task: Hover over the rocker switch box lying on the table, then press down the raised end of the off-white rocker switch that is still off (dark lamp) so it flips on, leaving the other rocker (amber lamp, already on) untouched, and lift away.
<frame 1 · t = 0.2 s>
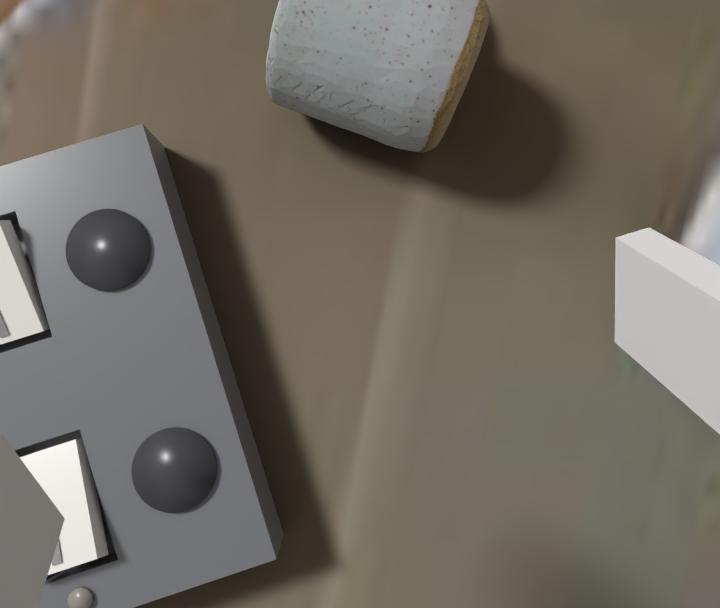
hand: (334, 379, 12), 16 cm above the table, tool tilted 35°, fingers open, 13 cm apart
rocker a: (55, 508, 24), point 3 cm above the table, hinge at 12.0°
rocker switch box: (114, 372, 28), on the table
ceramic mug: (377, 62, 29), on the table
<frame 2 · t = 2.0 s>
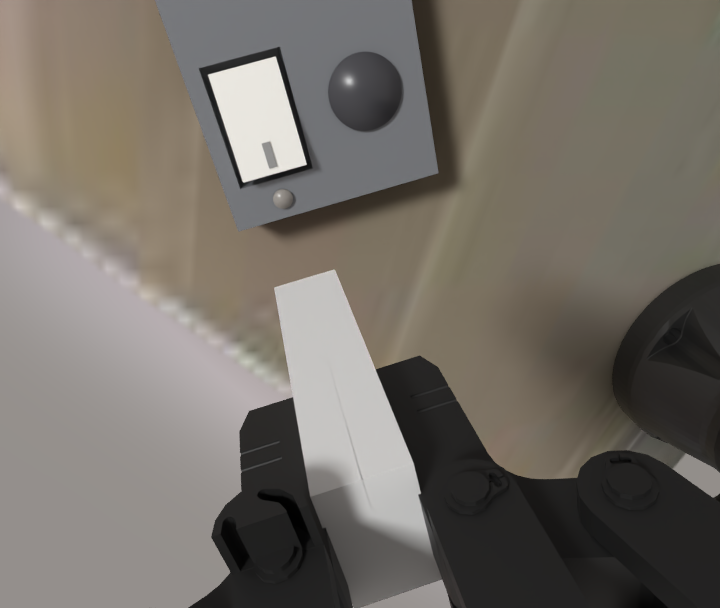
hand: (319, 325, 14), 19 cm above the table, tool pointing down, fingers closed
rocker a: (259, 121, 27), point 3 cm above the table, hinge at 12.0°
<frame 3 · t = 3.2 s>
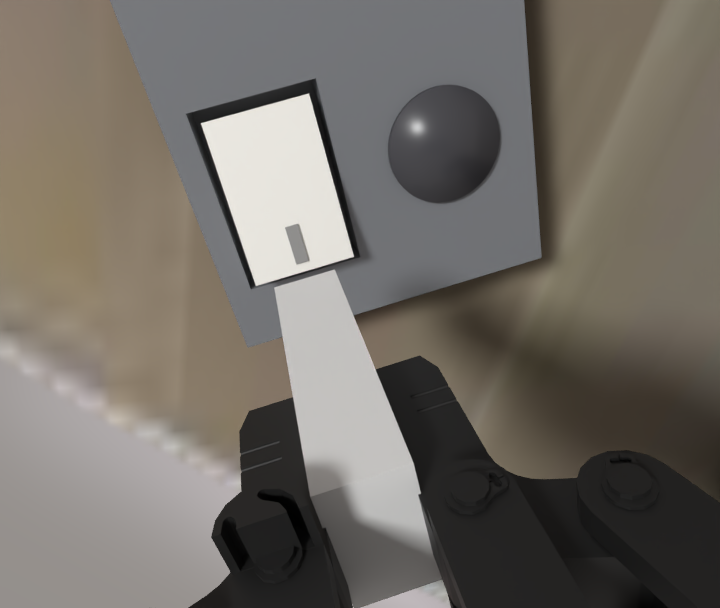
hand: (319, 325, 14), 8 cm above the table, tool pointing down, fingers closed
rocker a: (281, 192, 17), point 3 cm above the table, hinge at 12.0°
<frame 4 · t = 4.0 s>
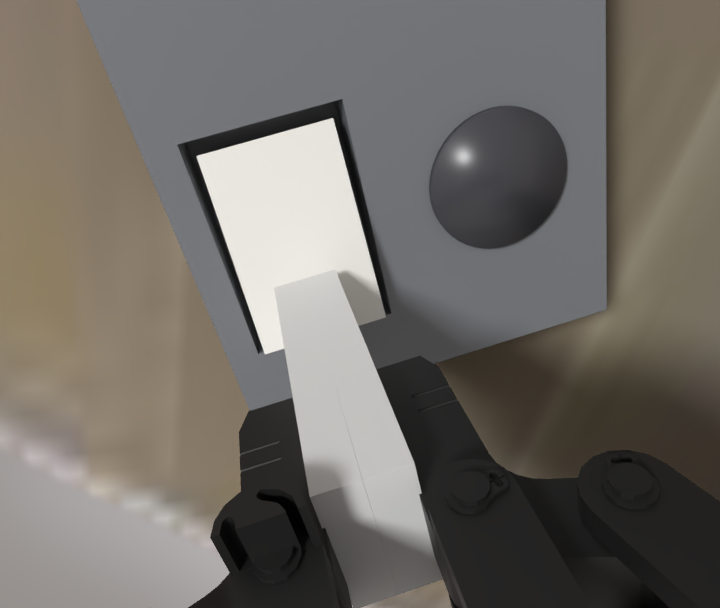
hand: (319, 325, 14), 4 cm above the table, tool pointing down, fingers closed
rocker a: (296, 238, 14), point 3 cm above the table, hinge at 12.0°, touching gripper
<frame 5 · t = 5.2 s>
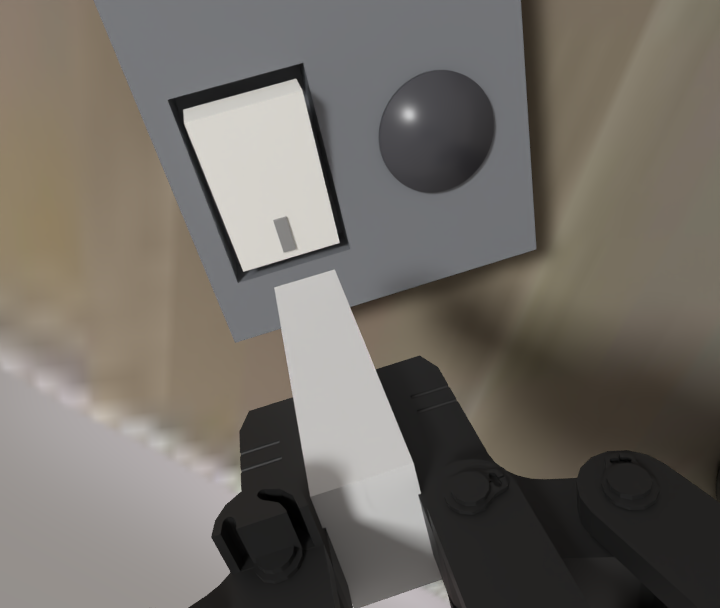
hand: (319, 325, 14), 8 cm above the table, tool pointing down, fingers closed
rocker a: (268, 182, 17), point 3 cm above the table, hinge at -10.2°
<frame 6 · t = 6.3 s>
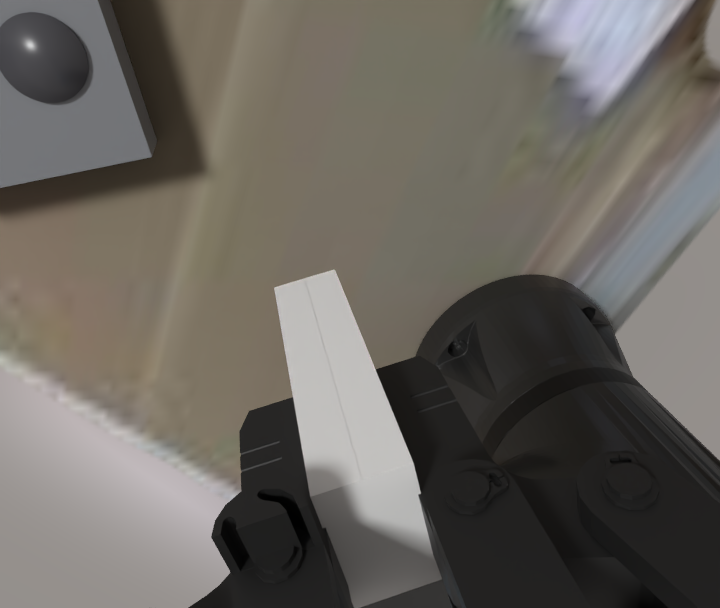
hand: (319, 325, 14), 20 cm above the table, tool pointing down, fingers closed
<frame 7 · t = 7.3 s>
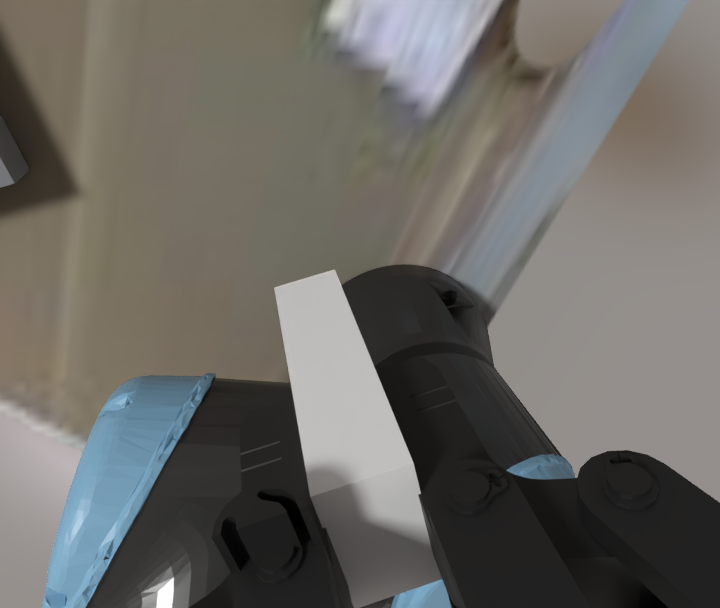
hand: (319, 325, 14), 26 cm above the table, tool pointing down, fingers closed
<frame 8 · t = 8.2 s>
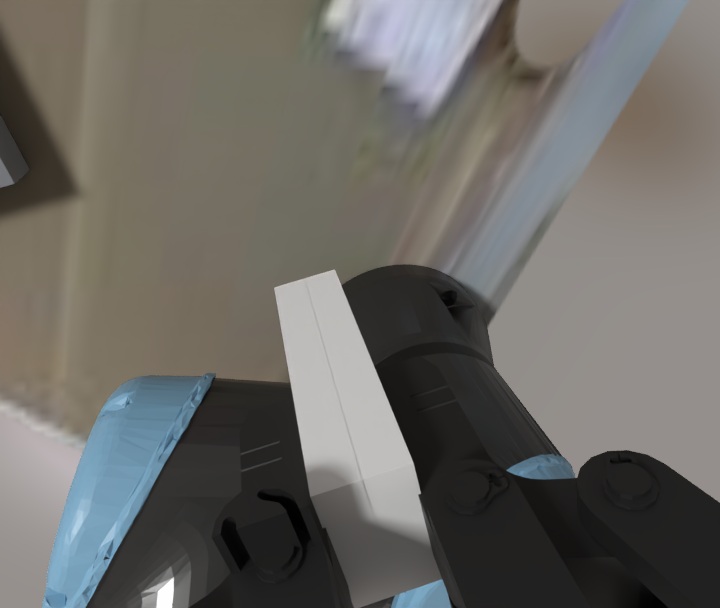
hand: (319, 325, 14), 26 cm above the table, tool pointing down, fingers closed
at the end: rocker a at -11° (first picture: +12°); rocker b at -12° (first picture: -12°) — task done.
